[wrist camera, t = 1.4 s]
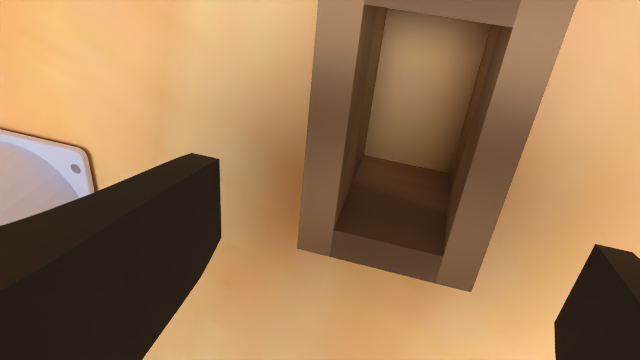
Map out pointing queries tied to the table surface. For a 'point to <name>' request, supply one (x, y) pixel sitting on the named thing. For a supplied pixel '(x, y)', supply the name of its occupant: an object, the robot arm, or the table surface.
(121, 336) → the robot arm
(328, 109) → the walnut link
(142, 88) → the table surface
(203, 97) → the table surface
